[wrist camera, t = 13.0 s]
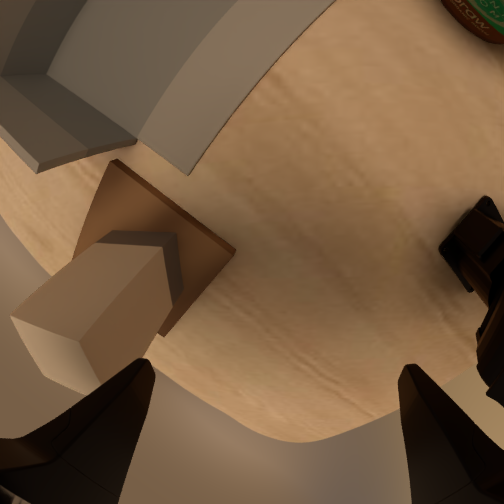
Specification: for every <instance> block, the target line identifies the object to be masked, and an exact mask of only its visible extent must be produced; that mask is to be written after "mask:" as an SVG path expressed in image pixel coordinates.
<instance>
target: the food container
mask: <svg viewBox="0 0 504 504" xmlns="http://www.w3.org/2000/svg"><path fill="white" fill-rule="evenodd" d="M441 2H442V3H443V5H444V6H445V8H446V9H447V10H448V11H449V12H450V13H451V14H452V16H453V17H454V18H455V19H456V20H457V21H458V22H459V23H460V24H461V25H463V26H464V27H465V28H466V29H467V30H468V31H470V32H471V33H473V34H474V35H476V36H477V37H479V38H481V39H483V40H485V41H487V42H490V43H494V44H504V0H441Z"/></svg>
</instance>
